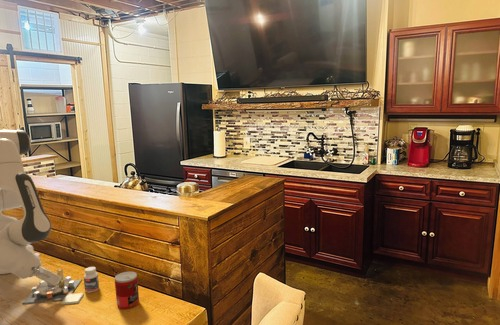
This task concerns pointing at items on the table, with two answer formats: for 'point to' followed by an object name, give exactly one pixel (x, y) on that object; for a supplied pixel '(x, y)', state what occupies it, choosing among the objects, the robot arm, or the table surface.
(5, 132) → the robot arm
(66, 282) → the sprocket
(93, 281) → the pill bottle
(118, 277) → the canned food
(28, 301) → the gray square plate
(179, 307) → the table surface
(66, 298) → the pad
